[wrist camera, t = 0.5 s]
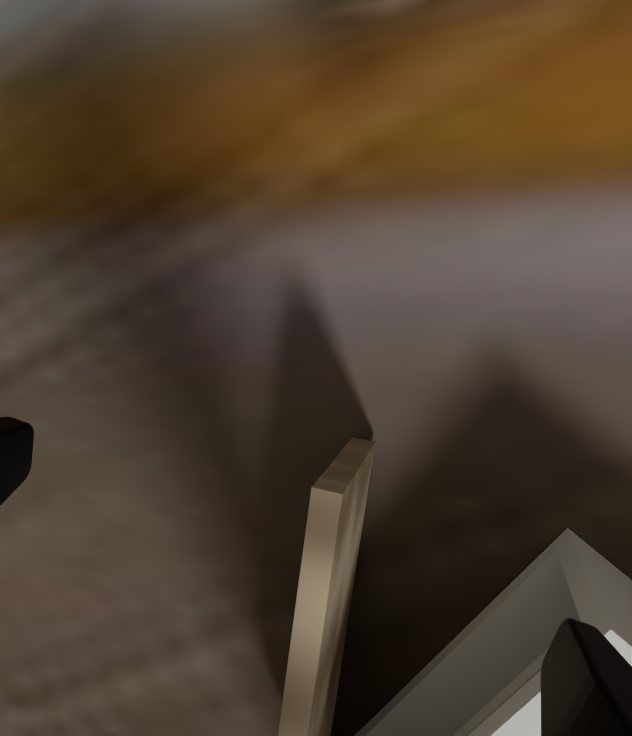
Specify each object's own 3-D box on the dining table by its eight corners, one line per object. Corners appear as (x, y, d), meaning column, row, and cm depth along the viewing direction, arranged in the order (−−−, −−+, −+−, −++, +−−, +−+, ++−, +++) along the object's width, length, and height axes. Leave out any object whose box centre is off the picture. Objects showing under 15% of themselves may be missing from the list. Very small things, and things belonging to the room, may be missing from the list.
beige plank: (326, 763, 26) (282, 908, 20) (305, 755, 26) (255, 897, 20) (375, 441, 23) (342, 494, 17) (352, 437, 24) (311, 487, 17)
